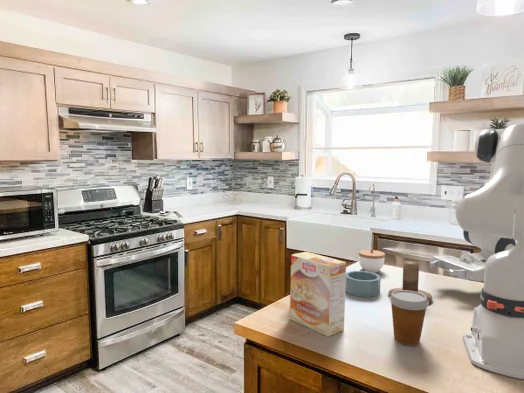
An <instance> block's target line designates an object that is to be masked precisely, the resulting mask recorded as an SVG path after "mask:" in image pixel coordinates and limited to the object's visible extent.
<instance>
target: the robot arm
mask: <svg viewBox="0 0 524 393" xmlns="http://www.w3.org/2000/svg"><path fill="white" fill-rule="evenodd" d="M474 153H475V155H476V158H477V159H478V160H479V161H480V162H484V163H487V164H489V163H491V167H490V172H489V173H490V174H489V177H488V180H487V182H483V184H481V186H480V187H479V189H477V190H476V191H473V192H471V193H469V194H466V195H465V196H463V197H462V198H461V199H460V200H459V202H458V203H457V207H456V209H455V218H456V221H457V224H458V225H459V227H460V228H461V229H462V230H463V232H462V234H463V238H464V240H465V242H467V243H469V244H471V245H474V246H475V247H477V248H479V249H480V250H481V251H480V252H473V253H471V252H470V253H465V254H464V253H463V254H462V255H461V256H460V258H459V257H456V256H452V255H445V254H444V255H433V256H432V261H431V262H429V267H430V268H432V269H436V268H438V269H442V270H444V271H447V272H449V273H448V275H450V276H452V277H462V278H464V279H466V280H467V279H468V280H470V281H472V282H478V283H479V282H483V287H482V288H481V292H480V296H479V297H480V303H479V305H478V306H475V307H474V308H473V312H472V313H473V314H472V321H471V322H472V323H471V327H470V331H471V332H465V333H463V335H462V340H463V343H464V347H465V348H466V351H467V354H468V356H469V360H470V362H471V364H473V365H475V366H476V367H479V368H481V369H483V370H487V371H490V372H492V373H496V374H499V375H503V376H506V377H511V378H515V379H520V380H524V122H523V123H515V124H513V125H510V126H508V127H507V128H497V129H496V128H494V127H493V128H488V129H487V128H486V129H483V130H482V131H481V132H480V133H479V135H478V136H477V138H476V140H475V142H474Z"/></svg>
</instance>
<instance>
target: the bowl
mask: <svg viewBox="0 0 524 393" xmlns="http://www.w3.org/2000/svg"><path fill="white" fill-rule="evenodd" d="M381 278H382V277H381V276H380V275H379V274H377V273H372V272H366V271H364V270H352V271H346V283H345V293H347V294H349V295H351V296H356V297H361V298H364V297H365V298H366V297H367V298H372V297H376V296H379V295H380V294H381V281H382V280H381Z"/></svg>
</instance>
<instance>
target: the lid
mask: <svg viewBox="0 0 524 393" xmlns="http://www.w3.org/2000/svg"><path fill="white" fill-rule="evenodd" d="M402 267H403V268H402V287H396V288H391V289H390V290H388V298H389V299H390V296H391V294H392V292H394V291H397V290H409V291H415V292H418V293H421V294H423V295H425V296H426V297H427V301H428V302H429V304H428V305H430V304H431V303H432V302H433V296H432V295H431V293H429V292H427V291H425V290H421V289H419V278H420V277H419V273H420V263H419V262H417V261H412V260H405V261H403V262H402Z"/></svg>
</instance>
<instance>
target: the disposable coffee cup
mask: <svg viewBox="0 0 524 393" xmlns="http://www.w3.org/2000/svg"><path fill="white" fill-rule="evenodd" d="M389 301H390V304H391V315H392V316H391V317H392V326H393V338H394V341H395V342H397V343H399V344H401V345H404V346H405V345H406V346H417V345H419V344H420V342H421V337H422V331H423V327H424V321H425V317H426V311H427V308H428V306H429V305H430V304H429V302H428V301H427V297H426V296H425V295H423V294H421V293H418V292H415V291H409V290H397V291H394V292H392V294H391V296H390V298H389Z"/></svg>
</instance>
